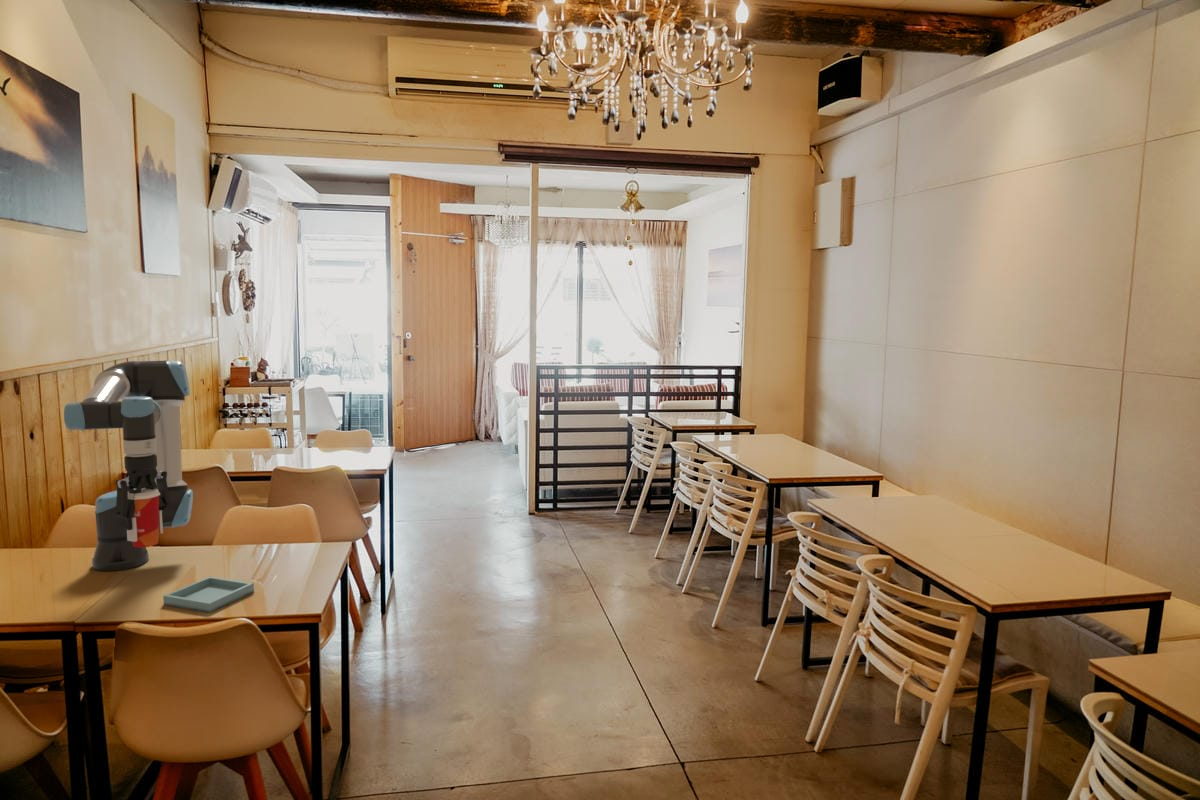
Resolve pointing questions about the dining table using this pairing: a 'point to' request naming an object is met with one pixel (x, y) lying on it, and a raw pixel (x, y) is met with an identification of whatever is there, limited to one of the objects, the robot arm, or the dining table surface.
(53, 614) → the dining table surface
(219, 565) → the dining table surface
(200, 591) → the tray
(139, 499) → the coffee cup
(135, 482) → the robot arm
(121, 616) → the dining table surface
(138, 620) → the dining table surface
